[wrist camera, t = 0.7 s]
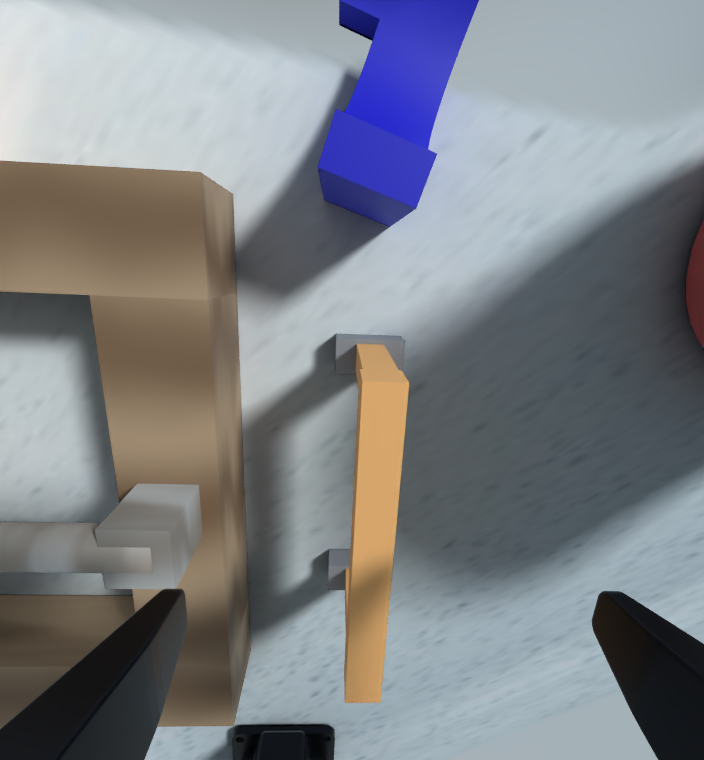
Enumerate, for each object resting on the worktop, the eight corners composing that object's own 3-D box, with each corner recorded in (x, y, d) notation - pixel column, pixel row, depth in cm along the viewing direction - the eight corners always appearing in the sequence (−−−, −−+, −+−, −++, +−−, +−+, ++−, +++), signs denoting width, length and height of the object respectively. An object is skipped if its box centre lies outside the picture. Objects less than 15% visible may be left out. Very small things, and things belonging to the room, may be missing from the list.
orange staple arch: (381, 573, 22) (400, 705, 15) (328, 572, 22) (324, 706, 15) (400, 336, 18) (436, 377, 11) (336, 333, 18) (335, 373, 11)
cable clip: (398, -175, 13) (446, -510, 7) (514, -110, 14) (640, -374, 8) (290, 186, 16) (265, 145, 11) (389, 227, 17) (415, 208, 11)
